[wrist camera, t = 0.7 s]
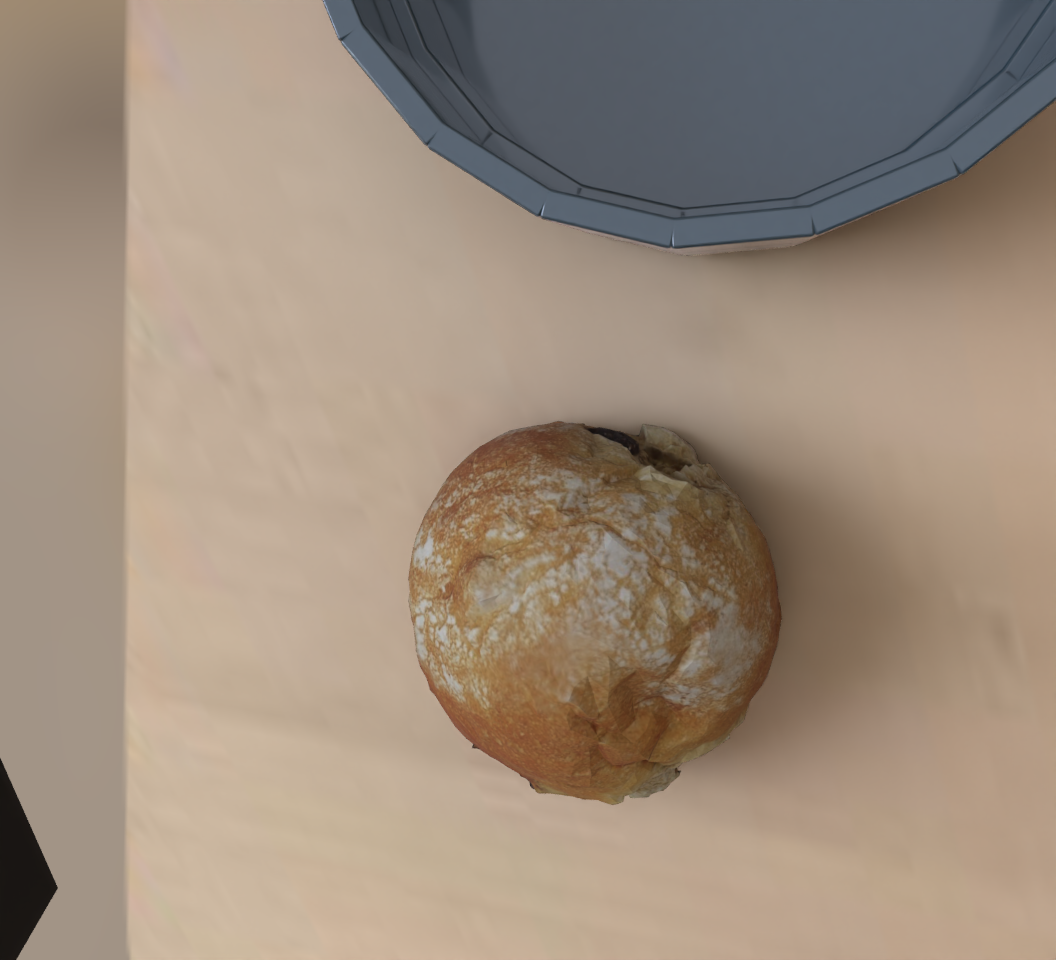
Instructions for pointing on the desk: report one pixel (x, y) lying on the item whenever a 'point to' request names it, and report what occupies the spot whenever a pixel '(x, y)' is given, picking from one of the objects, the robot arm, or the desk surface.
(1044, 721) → the desk surface
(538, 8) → the dark blue bowl
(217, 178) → the desk surface
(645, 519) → the bread roll
